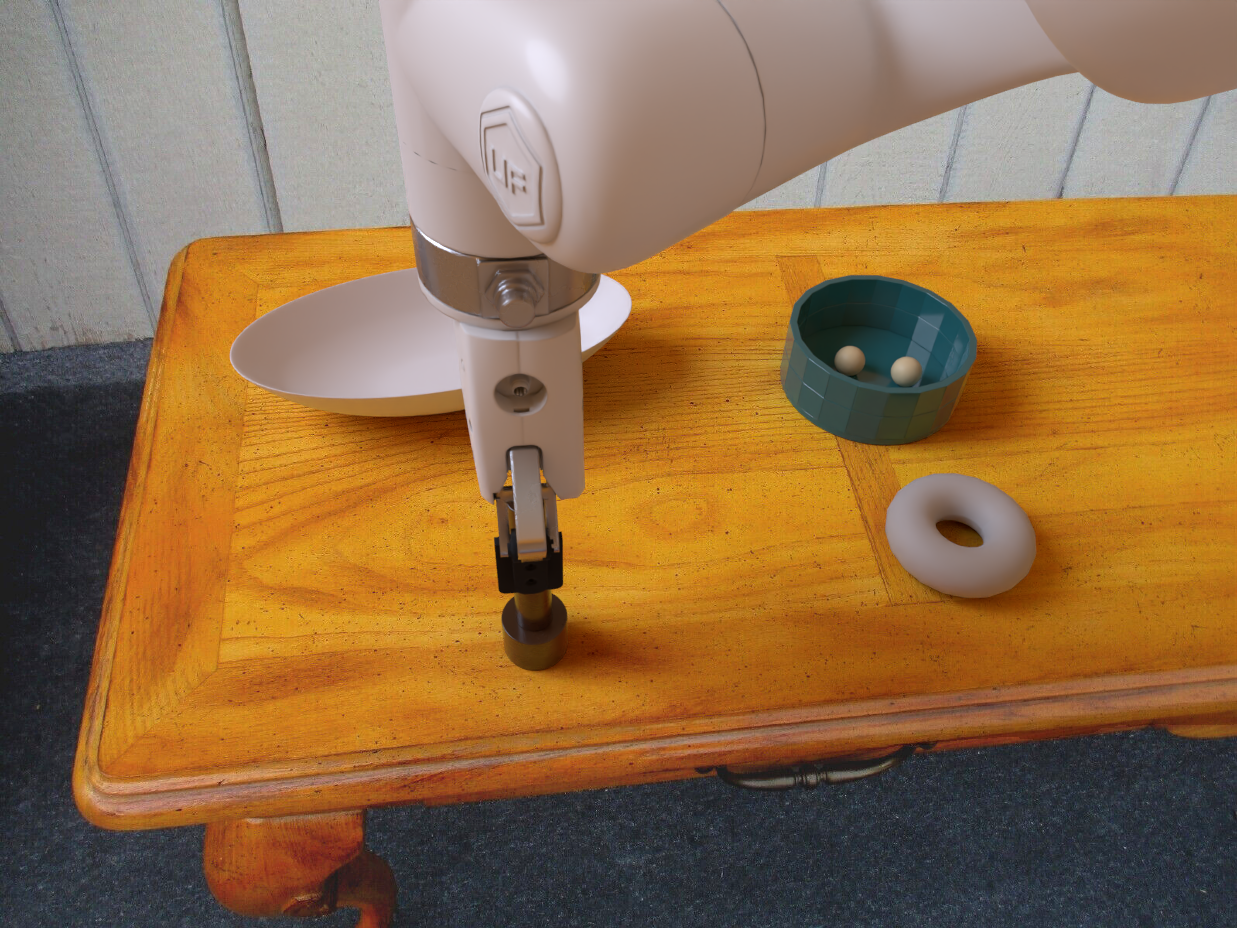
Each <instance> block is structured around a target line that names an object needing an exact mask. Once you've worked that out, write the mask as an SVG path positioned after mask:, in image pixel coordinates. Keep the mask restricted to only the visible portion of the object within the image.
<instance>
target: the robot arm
mask: <svg viewBox="0 0 1237 928" xmlns="http://www.w3.org/2000/svg"><path fill="white" fill-rule="evenodd" d="M377 2H378V8H379V15H380V21H381V29H382V35H383V41H384V49H385V56H386V62H387V70H388V77H389V83H390V90H391V97H392V104H393V111H394V118H395V126H396V132H397V140H398V146H399V152H400V153H399V154H400V160H401V168H402V173H403V181H404V188H405V195H406V203H407V210H408V216H409V224H410V230H411V238H412V245H413V252H414V258H415V266H416V267H415V268H417V273H418V281H419V285H420V288H421V291H422V293H423V295H424V296H425V297H426V299H427V300H428V301H429V302H430V303H431V304H432V305H433V306H434V307H435V308H436V309H437V310H439V311H440V312H442V313H443V314H444V315H446V316H448V317H450V318H452V319H453V324H454V332H455V340H456V348H457V355H458V363H459V370H460V378H461V385H462V392H463V398H464V405H465V410H464V411H465V418H466V423H467V429H468V434H469V439H470V445H471V451H472V457H473V462H474V466H475V467H474V468H475V471H476V477H477V482H478V488H479V492H480V496H481V497H482V498H483V499H484V500H485V501H487V502H488V503H489V504H491V505H493V506H494V505H495V504H496V516H497V517H496V518H497V531H498V536H494V537H493V543H494V555H495V567H496V576H497V586H498V592H499V593H501V594H504V595H508V594H509V595H510V594H514V593H520V594H536V593H541V592H543V591H545V590H557V589H560V588H562V587H563V586H564V539H563V538H564V537H563V532H562V531H559V521H558V507H557V498H559V500H561V501H563V500H564V501H565V500H569V499H578V498H579V497H580V496H581V495H582V494H583V492H584V490H585V489H586V474H585V471H586V470H585V436H584V434H585V433H584V431H585V430H584V378H583V377H584V375H583V374H584V373H583V363H582V348H581V330H580V317H579V309H581V308H582V307H583V306H584V305H585V304H586V303H587V302H588V301H589V300H590V299H591V298H592V297H593V295H594V294H595V292H596V291H597V288H598V286H599V284H600V278H601V274H609V273H612V272H616V271H620V270H625V269H628V268H630V267H633V266H635V265H637V264H639V263H641V262H644V261H647V260H648V259H650V258H652V257H655V256H656V255H658V254H660V253H661V252H664V251H665V250H667V249H669V248H671V247H672V246H675V245H676V244H679V243H680V242H682V241H684V240H685V239H687V238H690V237H691V236H692V235H695V234H696V233H698V232H700V231H702V230H703V229H705V228H708V227H709V226H712V225H713V224H715V223H716V222H718V221H720V220H723V219H724V218H725V217H727V216H729V215H731V213H733V212H734V211H735V210H736V209H738V208H740V207H743V206H744V205H746V204H748V203H750V202H752V201H753V200H755V199H757V198H759V197H761V196H763V195H765V194H766V193H769V192H771V191H773V190H774V189H776V188H778V187H780V186H782V185H784V184H786V183H787V182H789V181H791V180H793V179H794V178H795V179H796V178H797V177H799V176H801V175H803V174H805V173H806V172H809V171H810V170H812V169H814V168H817V167H818V166H820V165H822V164H825V163H826V162H829V161H830V160H832V159H835V158H836V157H838V156H840V155H842V154H844V153H846V152H848V151H850V150H852V149H855V148H858V147H859V146H862V145H864V144H867V143H868V142H872V141H874V140H876V139H879V138H880V137H883V136H885V135H888V134H890V133H893V132H896V131H898V130H902V129H903V128H906V127H909V126H912V125H914V124H917V123H920V122H922V121H925V120H928V119H931V118H935V117H936V116H939V115H942V114H945V113H947V112H950V111H953V110H956V109H958V108H961V107H964V106H967V105H969V104H972V103H975V102H978V101H981V100H983V99H986V98H990V97H994V96H996V95H998V94H1002V93H1005V92H1008V91H1010V90H1013V89H1018V88H1020V87H1023V86H1026V85H1029V84H1032V83H1033V84H1034V83H1037V82H1040V81H1041V82H1042V81H1044V80H1048V79H1052V78H1055V77H1059V76H1060V77H1061V76H1066V75H1071V74H1077V73H1079V74H1080V75H1081V76H1082V77H1084V78H1085V79H1087V81H1089V82H1090V83H1092V84H1093V85H1094V86H1095V87H1098V88H1099V89H1101V90H1103V91H1104V92H1106V93H1108V94H1111V95H1113V96H1115V97H1118V98H1120V99H1123V100H1127V101H1131V102H1135V103H1139V104H1145V105H1146V104H1147V105H1171V104H1172V105H1173V104H1178V103H1185V102H1190V101H1194V100H1198V99H1202V98H1206V97H1210V96H1213V95H1218V94H1222V93H1226V92H1229V91H1234V90H1237V0H378V1H377ZM509 471H510V473H511V483H512V484H511V485H505V484H506V481H507V480H508V473H509ZM541 471H542V476H543V478H544V479H545V482H542V478H541ZM543 499H544V507H545V521H546V527H545V522H544V511H543ZM507 502H514V511H515V523H516V528H512V529H511V534H510V529H509V516H508V503H507Z"/></svg>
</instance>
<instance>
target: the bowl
mask: <svg viewBox="0 0 1237 928" xmlns="http://www.w3.org/2000/svg"><path fill="white" fill-rule="evenodd" d="M632 308H633V300H632V297H631V294H630V293H629V291H628V289H627V288H625V286H624V285H622V284H621V283H620V282H618V281H617V280H615V279H613V278H612V277H610V276H607V275H606V274H604V273H601V278H600V284H599V286H598V288H597V291H596V292H595V294H594V295H593V297H592V298H591V299H590V300H589V301H588V302H587V303H586V304H585V305H584V306H583V307H582V308H581V309H579V317H580V330H581V348H582V364H583V363H584V362H586V361H587V360H588V359H589V358H591V357H592V356H593V355H594V354H596V353H597V352H598V351H599V350H600V349H602V347H605V345H606V344H607V343H608V342H609V341H610V340H611V339H612V338H613V337H614V336H615V335H616V334H617V333H618V332H619V330H621V328H622V327H623V326H624V325H625V323H626V322H627V320H628V319H629V317H630V315H631V312H632ZM229 360H230V363H231V365H232V367H233V369H234V370H235V371H236V372H237V373H238V374H239V376H240V377H242V378H243V379H245V381H248V382H249V383H251V384H252V385H255V386H256V387H258V388H260V389H262V390H264V391H266V392H268V393H270V394H272V395H275V396H277V397H279V398H282V399H283V400H286V401H289V402H292V403H295V404H298V405H301V406H304V407H307V408H311V409H314V410H319V411H323V412H329V413H333V414H339V415H349V416H360V417H382V418H383V417H387V418H389V417H395V418H396V417H414V416H415V417H416V416H430V415H439V414H447V413H453V412H454V413H455V412H459V411H465V405H464V398H463V392H462V385H461V378H460V370H459V363H458V355H457V348H456V340H455V332H454V324H453V319H452V318H450V317H448V316H446V315H444V314H443V313H442V312H440V311H439V310H437V309H436V308H435V307H434V306H433V305H432V304H431V303H430V302H429V301H428V300H427V299H426V297H425V296H424V295H423V293H422V291H421V288H420V285H419V281H418V273H417V267H411V268H405V269H399V270H393V271H388V272H383V273H378V274H374V275H369V276H365V277H361V278H358V279H353V280H350V281H346V282H343V283H339V284H335V285H333V286H332V285H331V286H329V287H326V288H323V289H320V290H317V291H314V292H310V293H309V294H306V295H303V296H300V297H298V298H296V299H293V300H290V301H288V302H286V303H285V304H282V305H280V306H278V307H276V308H274V309H271V310H270V311H269V312H267V313H265V314H263V315H261V316H260V317H259V318H257V319H256V320H254V321H252V323H249V325H247V326H246V327H245V328H244V329H243V330H242V331H241V332H240V333H239V335H237V337H236V338H235V340H234V341H233V342H232V344H231V347H230V351H229Z"/></svg>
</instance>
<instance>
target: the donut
mask: <svg viewBox="0 0 1237 928" xmlns="http://www.w3.org/2000/svg"><path fill="white" fill-rule="evenodd" d="M942 521H954V522H959V523H962V524H964V525H966V526H969V527H970V528H972V530H974V531H976V533H977V534H978V535H979V537H980V538H981V539H982V544H981V545H979V546H964V545H959V544H956V543H955V542H953V541H950V540H949V539H948V538H946V537H945V536H943V535H942V533H941V532H940V531H939V529H938V528H937V526H936V525H937V524H938V523H939V522H942ZM884 532H885V535H886V538H887V542H888V545H889V548H890V551H891V553H892V555H893V556H894V557H895V558H896V560H897V561H898V562H899V564H900V565H901V567H902V568H903V569H904V570H905V571H906V572H907V573H908V574H910V576H912V577H913V578H915V579H916V580H917V581H919V582H920V583H921V584H923V585H925V586H926V587H929V588H931V589H933V590H935V591H937V592H940V593H942V594H944V595H945V594H946V595H950V596H955V597H959V598H963V599H980V598H982V599H983V598H990V597H994V596H996V595H998V594H1002V593H1005V592H1008V591H1010V590H1012V589H1013V588H1014V587H1015V586H1016V585H1018V584H1019V583H1020V582H1021V581H1023V580H1024V579H1025V578H1026V577H1027V576H1028V575H1029V573H1030V570H1031V568H1032V566H1033V564H1034V561H1035V559H1036V555H1037V536H1036V532H1035V529H1034V527H1033V524H1032V522H1031V520H1030V518H1029V516H1028V513H1027V512H1026V511H1025V510H1024V509H1023V508H1022V507H1021V505H1019V503H1018V502H1017V501H1016V500H1015V499H1014V497H1012V496H1010V495H1009V494H1008V493H1007V492H1005V491H1004V490H1002V489H1000V488H999V487H998V486H997V485H994V484H992V483H990V482H988V481H985V480H983V479H981V478H979V477H975V476H970V475H964V474H961V473H955V472H947V473H932V474H928V475H924V476H921V477H918V478H915V479H913V480H912V481H911V482H909V483H907V484H906V485H904V486H903V487H902V488H901V489H899V490H898V491H896V494H895V496H894V497H893V499H892V500H891V502H890V504H889V506H888V507H887V509H886V517H885V528H884Z"/></svg>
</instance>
